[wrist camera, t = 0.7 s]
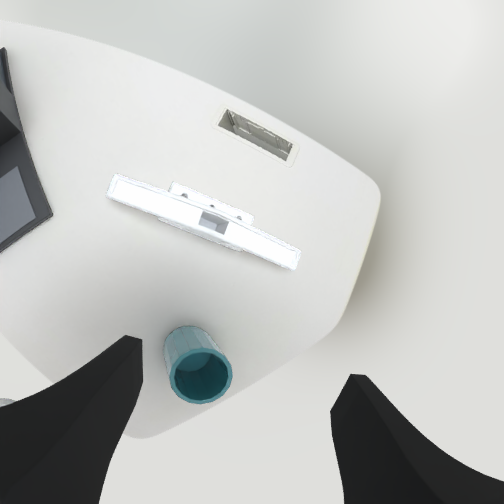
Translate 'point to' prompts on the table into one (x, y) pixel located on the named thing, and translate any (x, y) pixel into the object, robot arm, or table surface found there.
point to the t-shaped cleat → (203, 218)
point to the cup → (196, 365)
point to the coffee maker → (16, 170)
